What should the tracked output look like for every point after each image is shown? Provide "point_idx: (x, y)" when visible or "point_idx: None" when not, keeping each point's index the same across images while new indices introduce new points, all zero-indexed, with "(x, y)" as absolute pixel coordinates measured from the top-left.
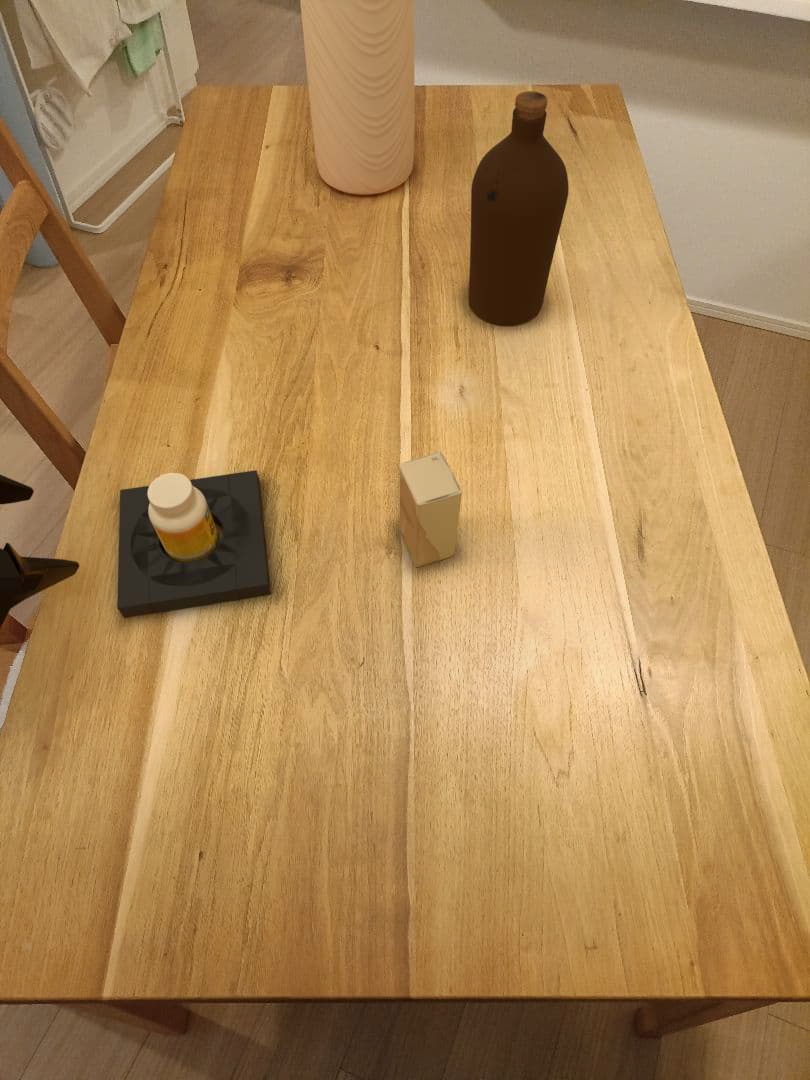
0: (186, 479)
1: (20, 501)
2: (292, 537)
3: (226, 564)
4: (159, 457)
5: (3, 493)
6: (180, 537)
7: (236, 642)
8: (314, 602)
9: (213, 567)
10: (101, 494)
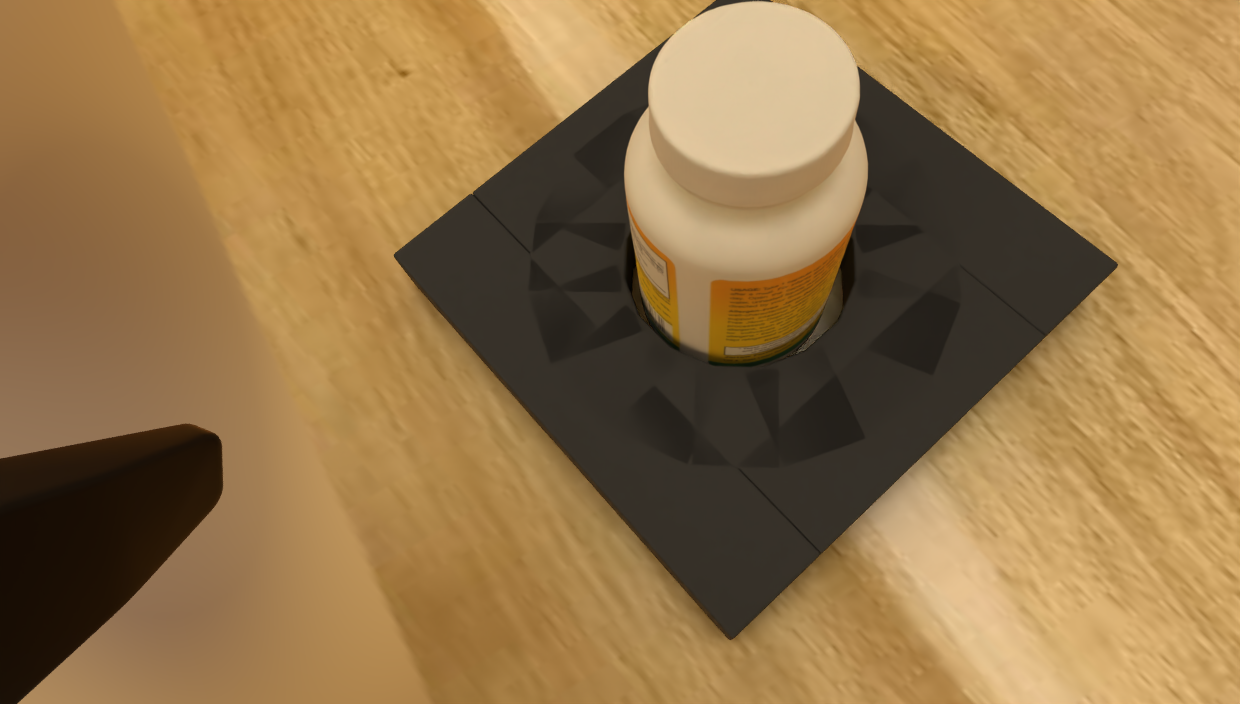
0: (779, 9)
1: (179, 545)
2: (975, 110)
3: (936, 280)
4: (405, 115)
5: (38, 588)
6: (824, 267)
7: (1140, 498)
8: (1225, 244)
9: (905, 313)
10: (324, 306)
